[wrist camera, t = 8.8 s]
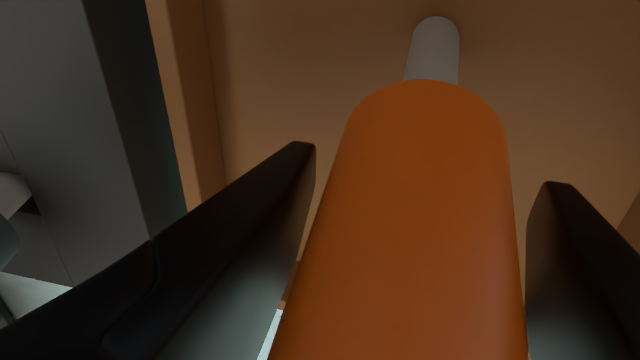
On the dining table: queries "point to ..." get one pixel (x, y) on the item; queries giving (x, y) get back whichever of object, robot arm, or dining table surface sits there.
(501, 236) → the orange-handled tool
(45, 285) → the dining table surface
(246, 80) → the tray
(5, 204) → the screwdriver
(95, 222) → the rack
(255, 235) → the robot arm
